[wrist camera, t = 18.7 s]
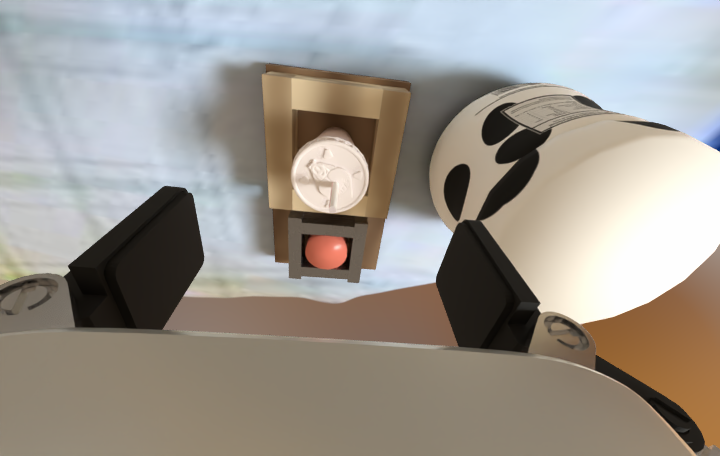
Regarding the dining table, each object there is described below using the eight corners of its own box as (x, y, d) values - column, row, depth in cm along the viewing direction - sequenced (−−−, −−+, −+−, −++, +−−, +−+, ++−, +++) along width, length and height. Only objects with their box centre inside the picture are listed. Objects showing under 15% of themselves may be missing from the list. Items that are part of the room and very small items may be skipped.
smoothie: (338, 182, 34) (331, 257, 22) (293, 146, 31) (259, 207, 20) (376, 142, 32) (392, 202, 20) (331, 99, 29) (319, 137, 17)
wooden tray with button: (277, 255, 41) (269, 279, 37) (269, 63, 29) (255, 67, 24) (374, 262, 43) (377, 287, 38) (408, 81, 30) (417, 87, 26)
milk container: (483, 242, 41) (560, 359, 26) (392, 171, 35) (423, 270, 20) (600, 146, 34) (801, 230, 19) (511, 37, 28) (702, 30, 13)
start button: (308, 252, 39) (304, 267, 36) (309, 220, 36) (305, 234, 33) (345, 255, 39) (345, 270, 36) (349, 223, 37) (348, 238, 34)
